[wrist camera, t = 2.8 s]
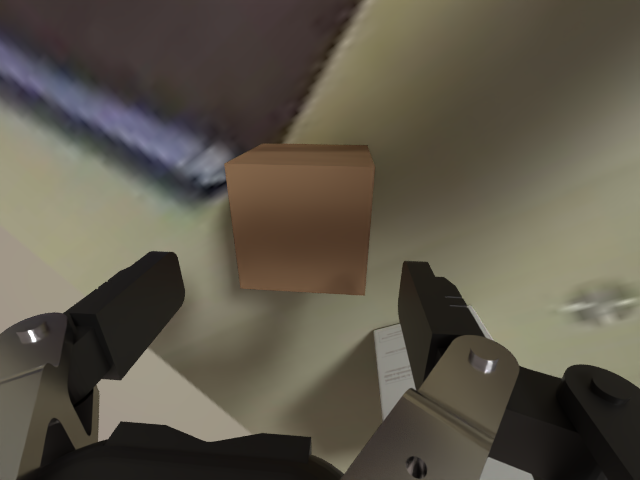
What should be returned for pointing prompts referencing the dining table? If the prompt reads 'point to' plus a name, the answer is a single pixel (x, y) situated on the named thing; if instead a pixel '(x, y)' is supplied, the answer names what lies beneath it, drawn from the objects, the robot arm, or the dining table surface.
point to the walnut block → (302, 217)
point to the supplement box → (399, 379)
